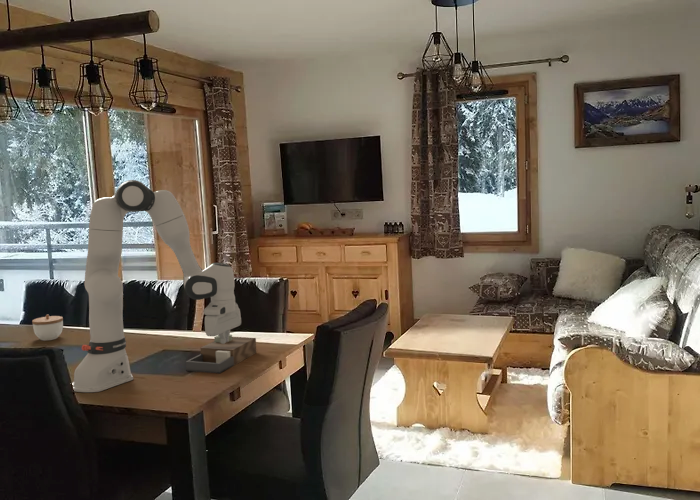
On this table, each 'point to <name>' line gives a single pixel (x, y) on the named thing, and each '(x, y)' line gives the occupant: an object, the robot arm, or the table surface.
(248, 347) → the brown flat block
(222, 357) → the cream tile
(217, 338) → the sage tile
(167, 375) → the table surface
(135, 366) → the table surface
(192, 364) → the box
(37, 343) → the table surface
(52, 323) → the lidded bowl
